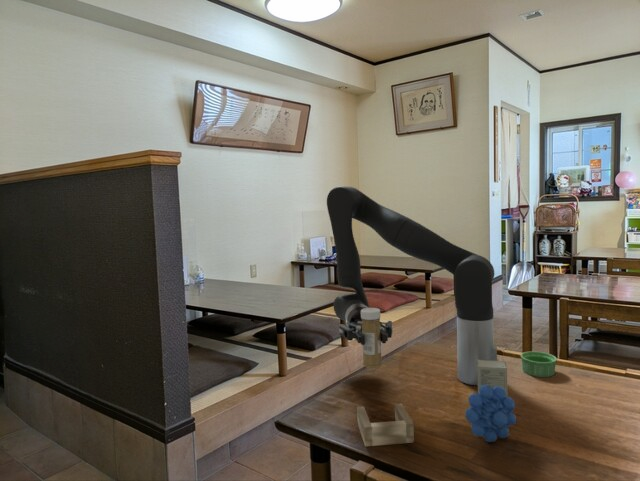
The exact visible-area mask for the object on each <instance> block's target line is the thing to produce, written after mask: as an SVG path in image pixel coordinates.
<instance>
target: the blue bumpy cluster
mask: <svg viewBox="0 0 640 481" xmlns="http://www.w3.org/2000/svg"><path fill="white" fill-rule="evenodd" d="M479 394H480V395H479ZM479 394H478V392H476V393H474V392H473V393H471V394H470V395H469V396H468V403H469V404H468V405H469V406H470V407H469V408H468V407H467V409H466V410H465V418H466V420H467V421H468V422H469V423H471V425H470V429H471V432H472V434H473V435H474V436H476V437H483V439H484V441H486V442H488V443H493V442H496V441H497V439H498V438H501V439H506V438H507V437H508V436H509V435H510V429H509V427H512V426H515V425H516V423H517V416H516V415H515V413H513V411H514V410H515V408H516V402H515V401H514V399H513V398H512V397H510V396H508V397H506V391H505V390H504V389H503V388H502V387H500V386H496V387H494V388H493V389H492V387H490V386H489V385H482V386H481V387H480V388H479Z"/></svg>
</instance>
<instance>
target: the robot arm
mask: <svg viewBox="0 0 640 481" xmlns="http://www.w3.org/2000/svg"><path fill="white" fill-rule="evenodd" d="M326 207H327V208H326V209H327V212H328V217H329V221H330V225H331V231H332V235H333V241H334V247H335V256H336V270H337V281H338V282H337V283H338V285H339V286H340V287H343V288H348V289H353V290H354V291H355V293H350V294H340V295H337V297H336V298H334V301H333V311H334V314H335V315H336V317H337V318H338V319H339V320H342V321H343V322H345V324H346V325H345V324H342V323H341V324H339V326H338V327H339V330H338V331H339V332H338V333H339V336H341V337H343V338H344V339H345V340H347V341H353V340H355V341H357V343H358V344H360V345H361V346H362V345H365V339H364V335H363V333H362V319H361V310H362V309H364V308H370V304H369V300H368V298H367V295H366V292H365V290H364V286H363V283H362V282H363V281H362V272H361V270H362V269H361V268H362V267H361V259H360V254H359V251H358V247H357V244H356V241H355V237H354V233H353V220H356V221H358V222H360V223H362V224H364V225H366V226H368V227H370V228H371V229H372V230H373V231H375V233H376V234H378V235H379V236H380V238H381V239H383V241H385V242H386V243H387V244H389V245H390V246H392V247H394V248H395V249H397V250H398V251H401V252H402V253H404V254H406V255H408V256H410V257H413V258H414V259H418V260H422V261H425V262H427V263H431V264H434V265H436V266H439V267H440V268H442V269H444V270H446V271H447V272H448V273H450V274H452V275H454V276H453V278H454V303H455V304H454V305H455V309H456V341H457V342H456V344H457V345H456V347H457V349H456V351H457V354H456V356H457V358H456V359H457V360H456V361H457V378H458V380H459V381H460V382H462V383H463V384H464V383H465V384H466V385H471V386H478V375H477V360H493V361H498V350H497V349H498V348H497V346H496V345H495V344H494V307H493V285H492V284H493V280H494V277H495V269H494V266H493V264H492V263H491V261H490V260H488V259H487V258H486V257H485V256H482V255H480V254H477V253H474V252H472V251H469V250H467V249H465V248H462V247H460V246H457V245H456V244H454V243H453V242H450V241H449V240H447V239H445V238H443V237H442V236H440V235H439V234H437V233H436V232H434V231H433V230H431V229H429V228H427V227H426V226H424V225H422V224H421V223H419V222H417V221H415V220H413V219H411V218H410V217H408V216H405V215H403V214H401V213H399V212H398V211H395V210H393V209H390V208H388V207H387V206H383V205H382V204H379V203H378V202H376V201H375V200H373V199H372V198H370V197H369V196H368V195H366V194H365V193H363V192H362V191H360V190H359V189H358V188H356V187H353V186H345V185H343V186H339V185H338V186H335V187H334V188H332V189H330V191H329V192H328V194H327V197H326ZM380 334H381V344H387V342H388V341H389V339H391V338H392V337H393V321H392V320H388V321H387V322H385V323H382V322H381V321H380Z"/></svg>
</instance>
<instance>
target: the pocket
mask: <svg viewBox="0 0 640 481" xmlns="http://www.w3.org/2000/svg"><path fill="white" fill-rule="evenodd" d="M366 411H367V410H366V409H365V406H356V412H357V413H356V418H357V419H356V420H357V427H358V430H359V433H360V435H361V438H362V441H363V444H364V447H375V446H385V445H397V444H398V445H401V444H409V443H414V442H415V440H414V438H415V436H414V430H415V429H414V422H413V420H412V419H411V417H410V415H409V413H408V412H407V410H406V409H405V407H404V405H403V403H395V404H394V418H395V419H394V420H395V421H379V422H371V421H370V419H369V417H368V413H367V412H366Z"/></svg>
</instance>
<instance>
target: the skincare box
mask: <svg viewBox="0 0 640 481" xmlns="http://www.w3.org/2000/svg"><path fill="white" fill-rule="evenodd" d="M477 375H478V385H477V394H479V388H480V387H481V386H482V385H489V386H490V387H492V389H493V388H494V387H496V386H500V387H502V388H503V389H504V390H505V391H506V397H509V396H508V395H509V394H508V367H507V363H506V360H497V361H493V360H477ZM479 395H480V394H479Z"/></svg>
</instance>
